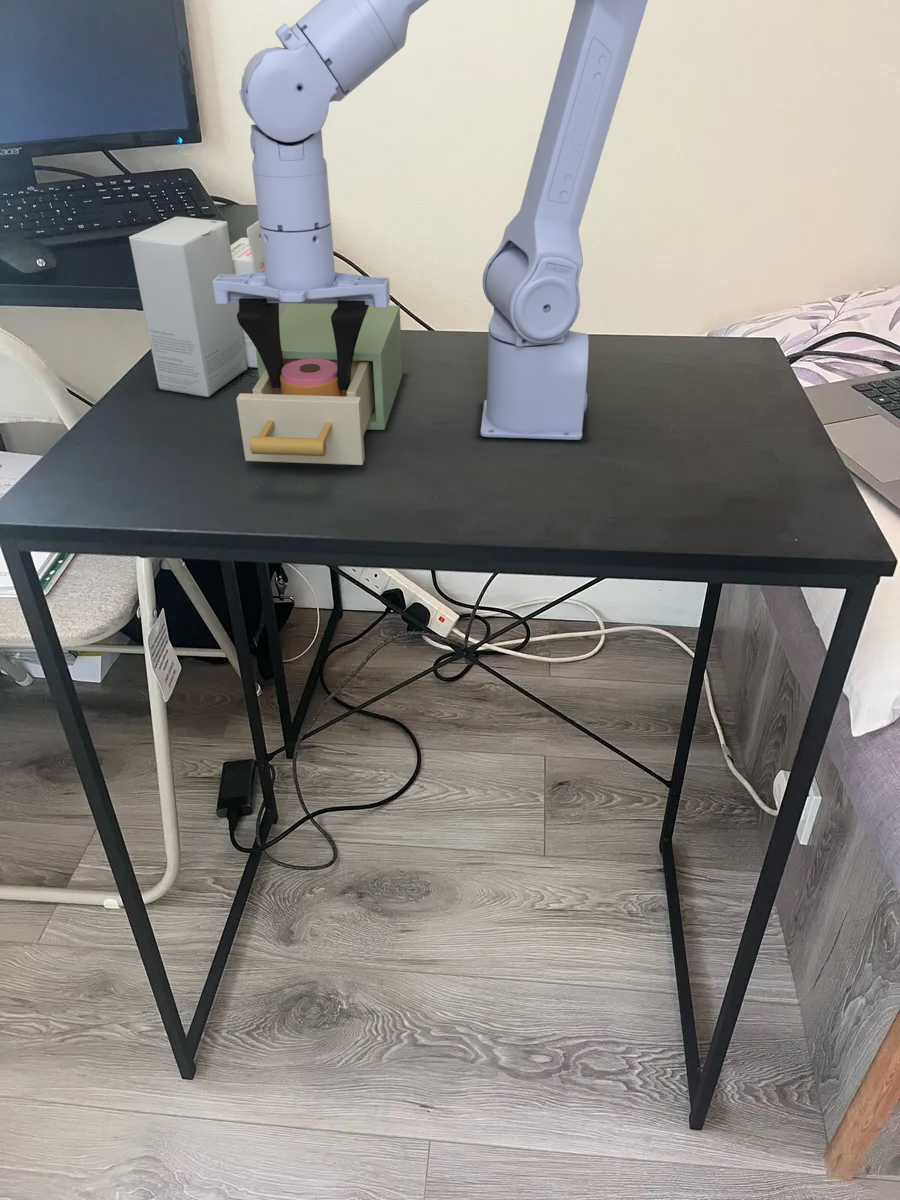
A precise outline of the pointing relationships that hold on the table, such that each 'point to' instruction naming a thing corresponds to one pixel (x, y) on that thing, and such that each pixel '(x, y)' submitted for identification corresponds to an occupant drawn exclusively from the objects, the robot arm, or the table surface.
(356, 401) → the drawer
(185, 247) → the cosmetic box
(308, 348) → the cabinet
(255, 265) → the ink cartridge box
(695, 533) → the table surface
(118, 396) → the table surface
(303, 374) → the donut
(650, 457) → the table surface
